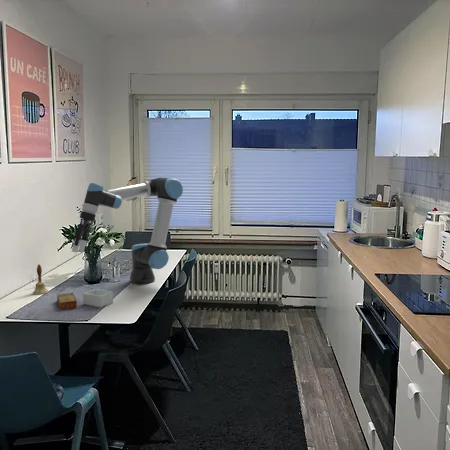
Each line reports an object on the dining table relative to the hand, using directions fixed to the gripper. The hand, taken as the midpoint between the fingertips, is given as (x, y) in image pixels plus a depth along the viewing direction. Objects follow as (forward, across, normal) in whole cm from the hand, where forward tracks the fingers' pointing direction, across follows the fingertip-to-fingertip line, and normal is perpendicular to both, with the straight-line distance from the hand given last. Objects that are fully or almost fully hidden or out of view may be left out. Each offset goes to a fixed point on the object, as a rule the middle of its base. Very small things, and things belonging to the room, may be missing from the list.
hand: (77, 252), depth 234 cm
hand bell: (+28, -26, -19) cm, 43 cm away
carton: (+28, -4, +1) cm, 28 cm away
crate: (+23, -3, +17) cm, 29 cm away
